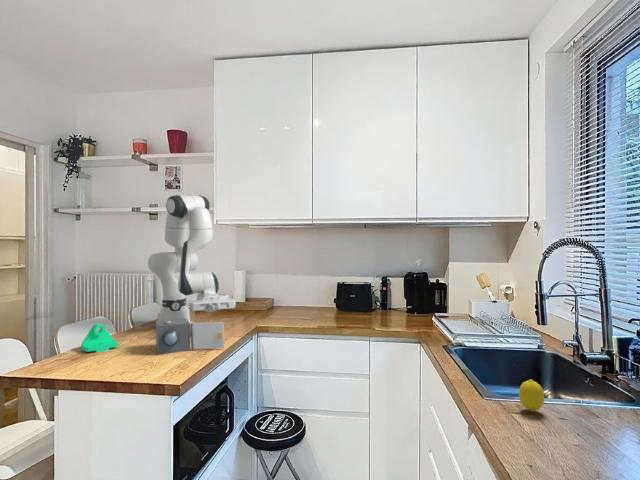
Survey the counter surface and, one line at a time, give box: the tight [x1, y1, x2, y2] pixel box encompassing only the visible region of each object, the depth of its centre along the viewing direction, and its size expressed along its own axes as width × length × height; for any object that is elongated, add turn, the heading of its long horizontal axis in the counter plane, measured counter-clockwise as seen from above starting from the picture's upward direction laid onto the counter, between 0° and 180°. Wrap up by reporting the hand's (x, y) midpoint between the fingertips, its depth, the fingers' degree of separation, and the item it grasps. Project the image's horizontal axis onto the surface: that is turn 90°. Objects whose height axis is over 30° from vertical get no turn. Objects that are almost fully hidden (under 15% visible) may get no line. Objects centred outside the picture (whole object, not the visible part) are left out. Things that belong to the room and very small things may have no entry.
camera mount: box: [80, 323, 119, 353], centre depth 163 cm, size 12×8×10 cm, turn 134°
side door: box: [190, 321, 225, 350], centre depth 161 cm, size 13×2×10 cm, turn 95°
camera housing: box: [155, 318, 191, 355], centre depth 162 cm, size 14×12×12 cm
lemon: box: [518, 379, 545, 413], centre depth 99 cm, size 6×6×8 cm
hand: (216, 307), depth 177 cm, fingers closed
